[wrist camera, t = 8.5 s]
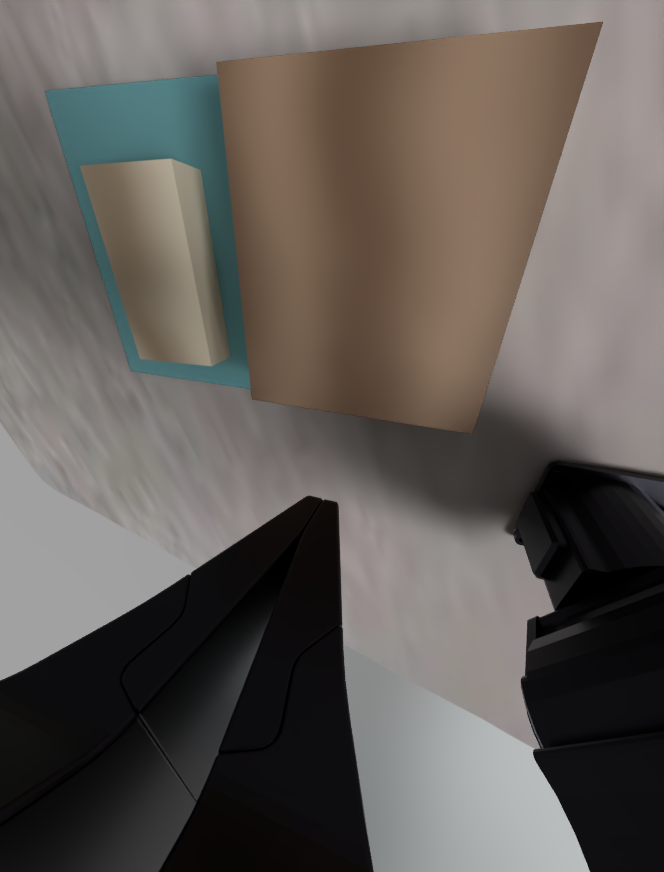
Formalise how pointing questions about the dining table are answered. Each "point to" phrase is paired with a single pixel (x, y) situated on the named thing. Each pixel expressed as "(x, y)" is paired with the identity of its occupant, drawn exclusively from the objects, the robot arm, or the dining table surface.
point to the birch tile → (161, 257)
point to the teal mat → (152, 140)
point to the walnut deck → (393, 213)
